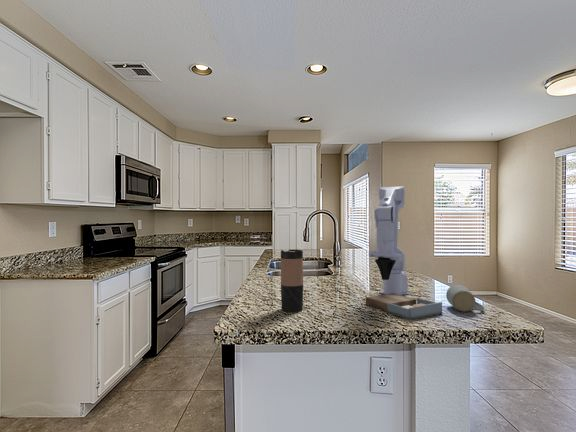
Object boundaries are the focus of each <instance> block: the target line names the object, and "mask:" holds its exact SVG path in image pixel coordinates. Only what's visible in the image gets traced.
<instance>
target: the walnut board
mask: <svg viewBox="0 0 576 432" xmlns="http://www.w3.org/2000/svg"><path fill="white" fill-rule="evenodd" d="M387 303H391V304H394V305H398V306H407V305H410V306H412V305H415V304H417V298H412V297H409V296H404V295H397V294H394V293H391V294H377V295H371V296H370V295H369V296H366V297H365V305H368V306H371V307H373V308H377V309H379V310H382V311H385V312H387Z"/></svg>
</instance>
